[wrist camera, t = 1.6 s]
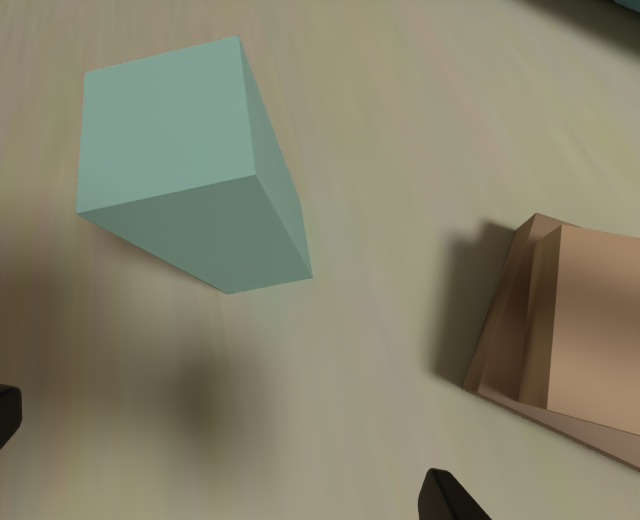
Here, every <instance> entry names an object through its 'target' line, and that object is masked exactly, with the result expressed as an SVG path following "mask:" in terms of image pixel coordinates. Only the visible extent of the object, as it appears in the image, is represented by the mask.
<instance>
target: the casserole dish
mask: <svg viewBox="0 0 640 520" xmlns="http://www.w3.org/2000/svg"><path fill="white" fill-rule="evenodd" d="M613 1H615V2H616V3H618V4H620V5H622V6H624V7H626V8H629V9H631V10H633V11H635V12H638V13H640V0H613Z"/></svg>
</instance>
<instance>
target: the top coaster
mask: <svg viewBox="0 0 640 520" xmlns="http://www.w3.org/2000/svg"><path fill="white" fill-rule="evenodd" d="M518 402H519V403H522V404H526V405H529V406H533V407H537V408H540V409H544V410H547V411H551V412H555V413H558V414H562V415H565V416H569V417H573V418H576V419H580V420H583V421H587V422H590V423H594V424H598V425H601V426H605V427H608V428H612V429H616V430H619V431H623V432H626V433H630V434H634V435H637V436H640V238H634V237H629V236H623V235H618V234H612V233H607V232H601V231H596V230H590V229H585V228H579V227H574V226H568V225H563V224H562V225H560V226H559V227H557V228H556V229H555V230H553V231H552V232H550V233H549V234H547V235H546V236H544V237H543V238H542V239H540V240H539V241H537V242H536V243H534V253H533V263H532V272H531V282H530V292H529V301H528V311H527V321H526V331H525V340H524V350H523V360H522V370H521V379H520V389H519V399H518Z"/></svg>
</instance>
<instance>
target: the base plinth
mask: <svg viewBox="0 0 640 520" xmlns="http://www.w3.org/2000/svg"><path fill="white" fill-rule="evenodd" d="M562 224H563V225H568V226H574V227H579V226H576V225H573V224H570V223H566V222H563V221H560V220H557V219H554V218H551V217H548V216H545V215H542V214H539V213H535V214H534V215H533V216H532V217H531V218H530V219H528V220H527V221H526V222H525V223H524V224H523V225H521V226H520V227H519V228H518V229H517V230H516V231H515V234H514V237H513V240H512V243H511V246H510V249H509V252H508V255H507V258H506V261H505V264H504V266H503V269H502V272H501V275H500V278H499V281H498V284H497V287H496V290H495V293H494V296H493V299H492V302H491V305H490V308H489V310H488V313H487V316H486V319H485V322H484V325H483V328H482V331H481V334H480V337H479V340H478V343H477V346H476V349H475V352H474V354H473V357H472V360H471V363H470V366H469V369H468V372H467V375H466V378H465V381H464V384H463V387H462V389H464V390H466V391H468V392H470V393H473V394H475V395H477V396H479V397H481V398H483V399H485V400H488V401H490V402H492V403H494V404H496V405H498V406H500V407H503V408H505V409H507V410H509V411H511V412H513V413H515V414H518V415H520V416H522V417H524V418H526V419H528V420H530V421H533V422H535V423H537V424H539V425H541V426H543V427H545V428H548V429H550V430H552V431H554V432H556V433H558V434H560V435H563V436H565V437H567V438H569V439H571V440H573V441H576V442H578V443H580V444H582V445H584V446H586V447H588V448H591V449H593V450H595V451H597V452H599V453H601V454H603V455H606V456H608V457H610V458H612V459H614V460H616V461H618V462H621V463H623V464H625V465H627V466H629V467H631V468H633V469H636V470H638V471H640V436H637V435H634V434H630V433H626V432H623V431H619V430H616V429H612V428H608V427H605V426H601V425H598V424H594V423H590V422H587V421H583V420H580V419H576V418H573V417H569V416H565V415H562V414H558V413H555V412H551V411H547V410H544V409H540V408H537V407H533V406H529V405H526V404H522V403H519V402H518V399H519V389H520V379H521V370H522V360H523V350H524V340H525V331H526V321H527V311H528V301H529V292H530V282H531V272H532V263H533V253H534V243H536V242H537V241H539V240H540V239H542V238H543V237H544V236H546V235H547V234H549V233H550V232H552V231H553V230H555V229H556V228H557V227H559V226H560V225H562ZM579 228H582V227H579Z"/></svg>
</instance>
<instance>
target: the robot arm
mask: <svg viewBox="0 0 640 520" xmlns="http://www.w3.org/2000/svg"><path fill="white" fill-rule="evenodd" d="M21 421H22V394H21V390H20V389H19V388H18V387H15V386H10V385H5V384H0V449H1V448H2V447H3V446H4V445H5V444H6V443H7V441H8V440H9V439H10V438H11V437H12V436H13V435H14V433H15V432H16V431H17V429H18V428H19V426H20V424H21ZM418 512H419V520H492V519H491V518H490V517H489V516H488V515H487V514H486V513H485V511H484V510H483V509H482V508H481V507H480V506H479V505H478V503H477V502H476V501H475V500H474V499H473V498H472V497H471V496H470V494H469V493H468V492H467V491H466V490H465V489H464V488H463V486H462V485H461V484H460V483H459V482H458V481H457V480H456V479H455V477H454V476H453V475H452V474H451V473H450V472H448V471H446V470H441V469H436V468H430V469H429V470H428V472H427V474H426V477H425V480H424V482H423V485H422V488H421V491H420V494H419V498H418Z"/></svg>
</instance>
